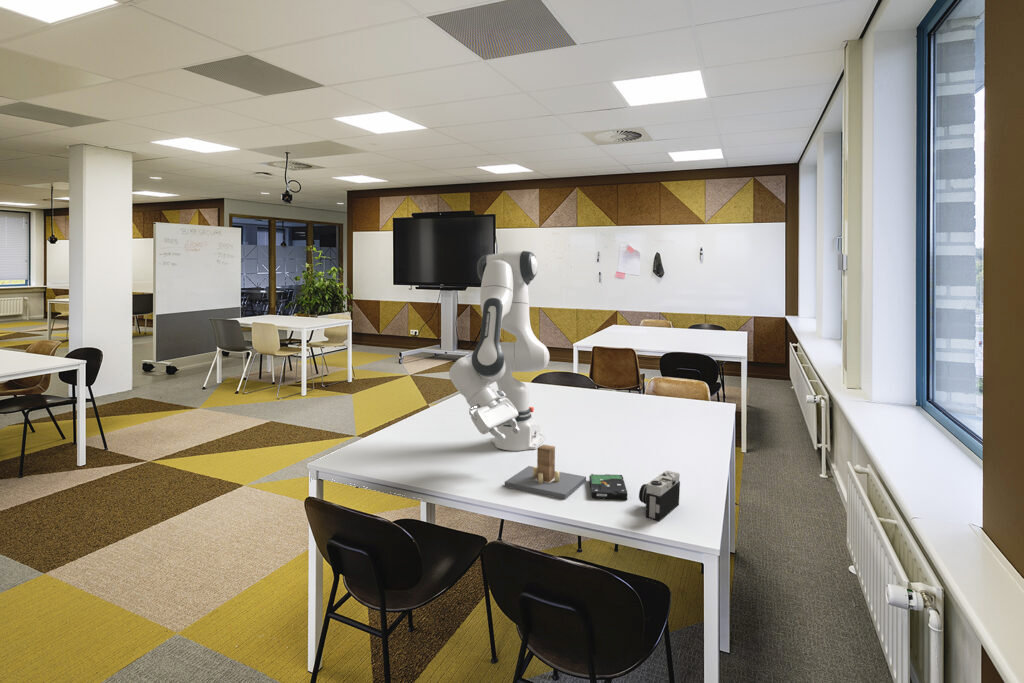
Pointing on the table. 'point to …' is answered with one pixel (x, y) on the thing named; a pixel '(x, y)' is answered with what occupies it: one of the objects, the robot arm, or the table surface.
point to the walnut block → (546, 462)
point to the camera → (660, 495)
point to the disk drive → (608, 487)
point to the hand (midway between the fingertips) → (511, 436)
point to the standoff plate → (546, 483)
